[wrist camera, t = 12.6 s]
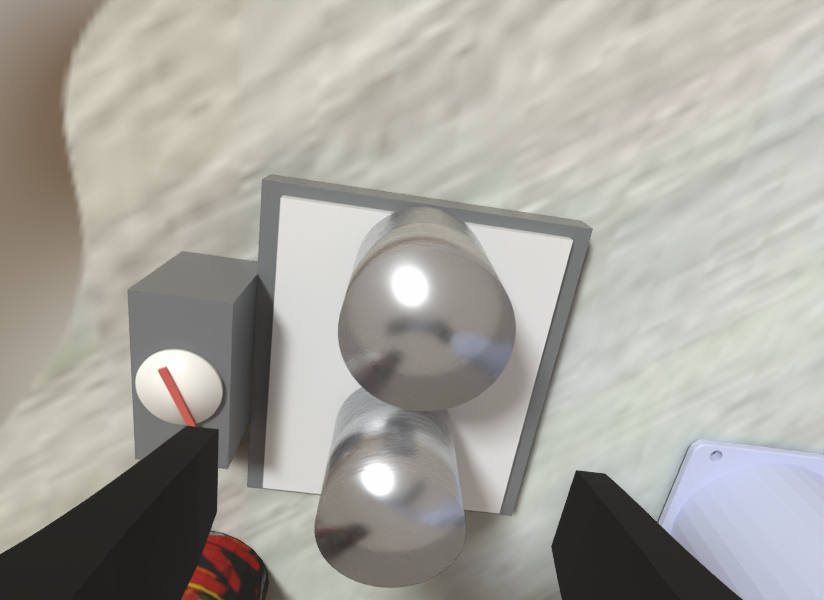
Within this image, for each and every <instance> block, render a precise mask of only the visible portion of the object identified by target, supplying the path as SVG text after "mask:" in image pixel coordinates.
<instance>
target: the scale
mask: <svg viewBox="0 0 824 600" xmlns="http://www.w3.org/2000/svg"><path fill="white" fill-rule="evenodd" d="M412 207H430V208H435V209H440V210H443V211H446V212H448V213H450V214H452V215H454V216H456V217H457V218H459V219H460V220H462V221H463V222H464V223H465V224H466V225H468V226H469V227H470V229H471V230H472V231H473V232H474V233H475V235H476V237H477V238H478V240H479V242H480V243H481V245H482V247H483V249H484V251H485V253H486V255H487V257H488V259H489V261H490V262H491V264H492V266H493V268H494V270H495V272H496V274H497V276H498V278H499V279H500V281H501V283H502V285H503V287H504V289H505V291H506V293H507V295H508V297H509V299H510V301H511V304H512V307H513V311H514V315H515V322H516V336H515V343H514V347H513V351H512V354H511V357H510V359H509V361H508V363H507V365H506V367H505V369H504V370H503V372H502V373H501V375H500V376H499V377H498V378H497V380H496V381H495V382H494V383H493V384H492V385H491V386H490V387H489V388H488V389H487V390H485V391H484V392H483V393H481V394H480V395H479V396H477V397H475V398H473V399H472V400H470V401H468V402H466V403H463V404H461V405H459V406H456V407H452V408H449V409H447V411H448V413H449V416H450V420H451V426H452V433H453V440H454V446H455V453H456V460H457V466H458V473H459V480H460V487H461V493H462V500H463V507H464V510H465V511H474V512H483V513H492V514H502V515H511V516H512V514H513V510H514V507H515V503H516V500H517V496H518V492H519V489H520V485H521V482H522V478H523V475H524V471H525V468H526V464H527V460H528V457H529V453H530V450H531V446H532V443H533V439H534V436H535V432H536V428H537V425H538V421H539V418H540V414H541V411H542V407H543V404H544V400H545V397H546V393H547V389H548V386H549V382H550V379H551V375H552V372H553V368H554V365H555V361H556V357H557V354H558V350H559V347H560V343H561V340H562V336H563V333H564V329H565V326H566V322H567V318H568V315H569V311H570V308H571V304H572V301H573V297H574V294H575V290H576V286H577V283H578V279H579V276H580V272H581V269H582V265H583V262H584V258H585V254H586V251H587V247H588V244H589V240H590V237H591V233H592V230H593V229H592V228H591V227H589V226H588V225H586V224H585V223H583V222H582V221H578V220H571V219H565V218H558V217H551V216H545V215H538V214H531V213H525V212H518V211H511V210H505V209H498V208H491V207H485V206H478V205H471V204H465V203H458V202H451V201H445V200H438V199H431V198H425V197H418V196H411V195H405V194H398V193H391V192H385V191H378V190H371V189H365V188H358V187H351V186H345V185H338V184H331V183H325V182H318V181H311V180H305V179H298V178H291V177H285V176H278V175H269V176H267V177H266V178H264V179H262V192H261V213H260V233H259V254H258V262H255V261H248V260H240V259H233V258H226V257H219V256H211V255H204V254H197V253H190V252H181V253H179V254H178V255H176V256H175V257H173V258H172V259H171V260H169V261H168V262H166V263H165V264H163V265H162V266H161V267H159V268H158V269H156V270H155V271H153V272H152V273H151V274H149V275H148V276H146V277H145V278H144V279H142V280H141V281H139V282H138V283H136V284H135V285H134V286H132V287H131V288H129V289H128V308H129V330H130V352H131V373H132V395H133V417H134V439H135V459H141V460H142V459H143V458H144V457H146V456H147V455H148V454H150V453H151V452H152V451H154V450H155V449H156V448H158V447H159V446H160V445H161V444H163V443H164V442H165V441H167V440H168V439H169V438H171V437H172V436H173V435H175V434H176V433H178V432H179V431H180V430H182V429H183V428H184V427H186V426H195V427H204V428H213V429H219V443H218V468H222V469H228V467H229V465H230V463H231V461H232V459H233V457H234V455H235V452H236V450H237V448H238V446H239V444H240V442H241V440H242V438H243V435H244V433H245V431H246V429H247V427H248V425H249V423H250V440H249V460H248V481H247V487H252V488H261V489H270V490H279V491H289V492H298V493H307V494H316V495H321V490H322V485H323V481H324V476H325V471H326V466H327V461H328V456H329V451H330V446H331V442H332V437H333V432H334V427H335V422H336V418H337V415H338V412H339V410H340V408H341V406H342V404H343V403H344V401H345V400H346V399H347V398H348V397H349V396H350V395H351V394H352V393H353V392H355V391H356V390H358V389H359V388H361V387H362V386H361V385H360V384H358V382H357V381H356V380H355V379H354V377H353V376H352V375H351V373H350V372H349V370H348V368H347V367H346V365H345V362H344V360H343V358H342V355H341V351H340V348H339V342H338V322H339V316H340V312H341V308H342V305H343V301H344V298H345V295H346V291H347V288H348V284H349V281H350V277H351V274H352V270H353V267H354V263H355V260H356V256H357V253H358V250H359V247H360V245H361V243H362V241H363V239H364V238H365V236H366V235H367V233H368V232H369V231H370V230H371V229H372V227H373V226H374V225H376V224H377V223H378V222H379V221H380V220H382V219H383V218H385V217H386V216H388V215H390V214H392V213H394V212H397V211H400V210H403V209H407V208H412Z"/></svg>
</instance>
